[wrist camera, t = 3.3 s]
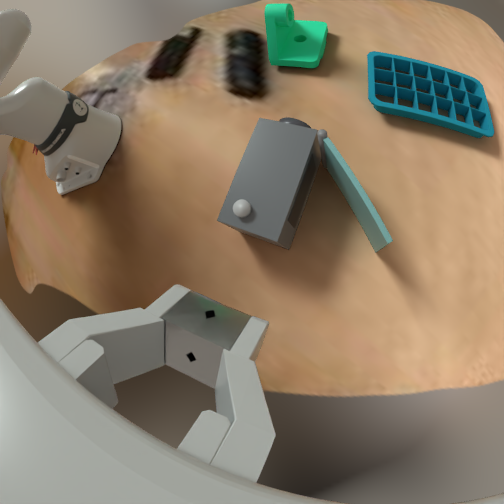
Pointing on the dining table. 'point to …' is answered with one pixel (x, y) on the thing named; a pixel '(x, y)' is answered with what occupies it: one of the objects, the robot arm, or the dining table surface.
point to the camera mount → (293, 38)
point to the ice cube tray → (429, 93)
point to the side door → (353, 193)
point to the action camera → (273, 181)
